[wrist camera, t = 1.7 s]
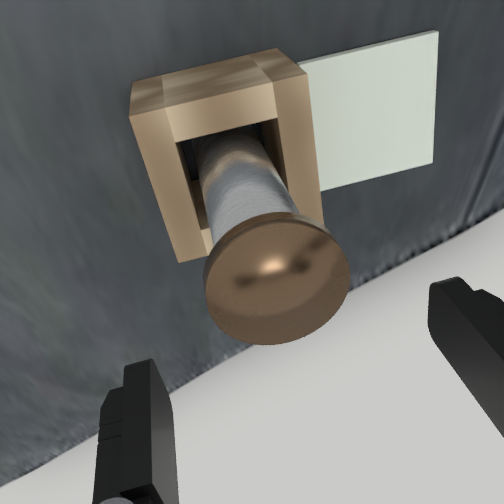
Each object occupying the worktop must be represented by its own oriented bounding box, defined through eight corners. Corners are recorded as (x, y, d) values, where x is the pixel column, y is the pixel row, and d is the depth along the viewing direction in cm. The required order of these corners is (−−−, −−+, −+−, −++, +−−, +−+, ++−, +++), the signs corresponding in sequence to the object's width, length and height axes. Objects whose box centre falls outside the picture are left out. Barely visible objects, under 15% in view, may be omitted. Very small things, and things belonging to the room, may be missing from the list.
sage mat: (433, 30, 27) (438, 31, 26) (428, 159, 31) (432, 162, 31) (296, 62, 26) (299, 64, 26) (311, 188, 31) (314, 192, 30)
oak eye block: (276, 47, 26) (307, 73, 21) (295, 178, 30) (324, 225, 25) (132, 81, 25) (128, 116, 20) (173, 209, 30) (178, 262, 25)
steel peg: (253, 84, 26) (345, 210, 14) (267, 162, 29) (354, 324, 17) (169, 104, 26) (189, 250, 14) (191, 180, 29) (224, 359, 17)
